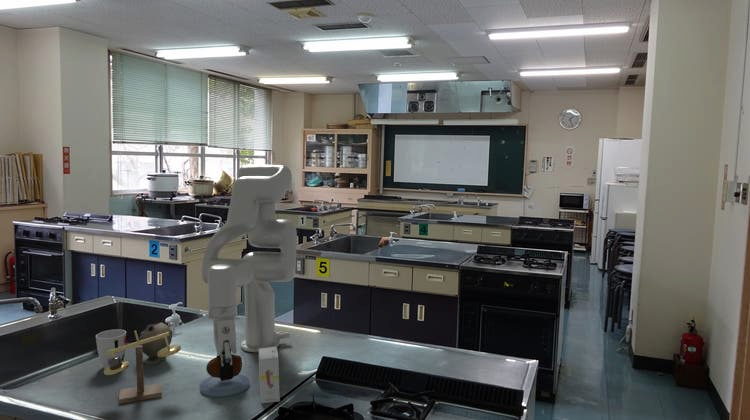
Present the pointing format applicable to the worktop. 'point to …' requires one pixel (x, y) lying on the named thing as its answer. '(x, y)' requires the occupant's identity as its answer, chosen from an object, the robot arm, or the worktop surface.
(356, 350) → the worktop surface
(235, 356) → the potato
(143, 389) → the balance stand
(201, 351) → the worktop surface
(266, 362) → the ink box
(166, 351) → the balance beam
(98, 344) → the cup
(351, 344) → the worktop surface
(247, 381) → the plate
